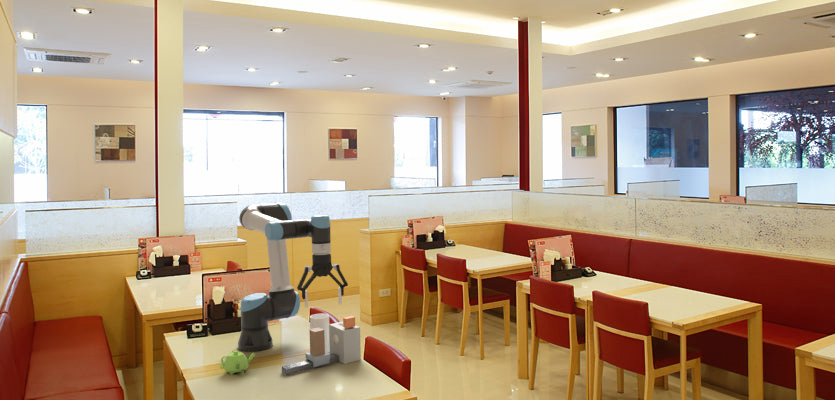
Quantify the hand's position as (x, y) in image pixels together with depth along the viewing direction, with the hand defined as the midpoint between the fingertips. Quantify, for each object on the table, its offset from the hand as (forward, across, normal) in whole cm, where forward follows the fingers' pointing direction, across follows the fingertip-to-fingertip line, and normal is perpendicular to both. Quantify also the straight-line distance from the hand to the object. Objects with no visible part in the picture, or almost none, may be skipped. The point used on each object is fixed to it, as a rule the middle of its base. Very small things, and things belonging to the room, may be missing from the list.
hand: (323, 305), depth 235 cm
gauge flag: (+11, +11, +3) cm, 16 cm away
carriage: (+24, -3, +2) cm, 24 cm away
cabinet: (+25, +9, +7) cm, 28 cm away
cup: (+25, 0, +19) cm, 32 cm away
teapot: (+25, -34, +6) cm, 43 cm away
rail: (+25, -6, +1) cm, 26 cm away
